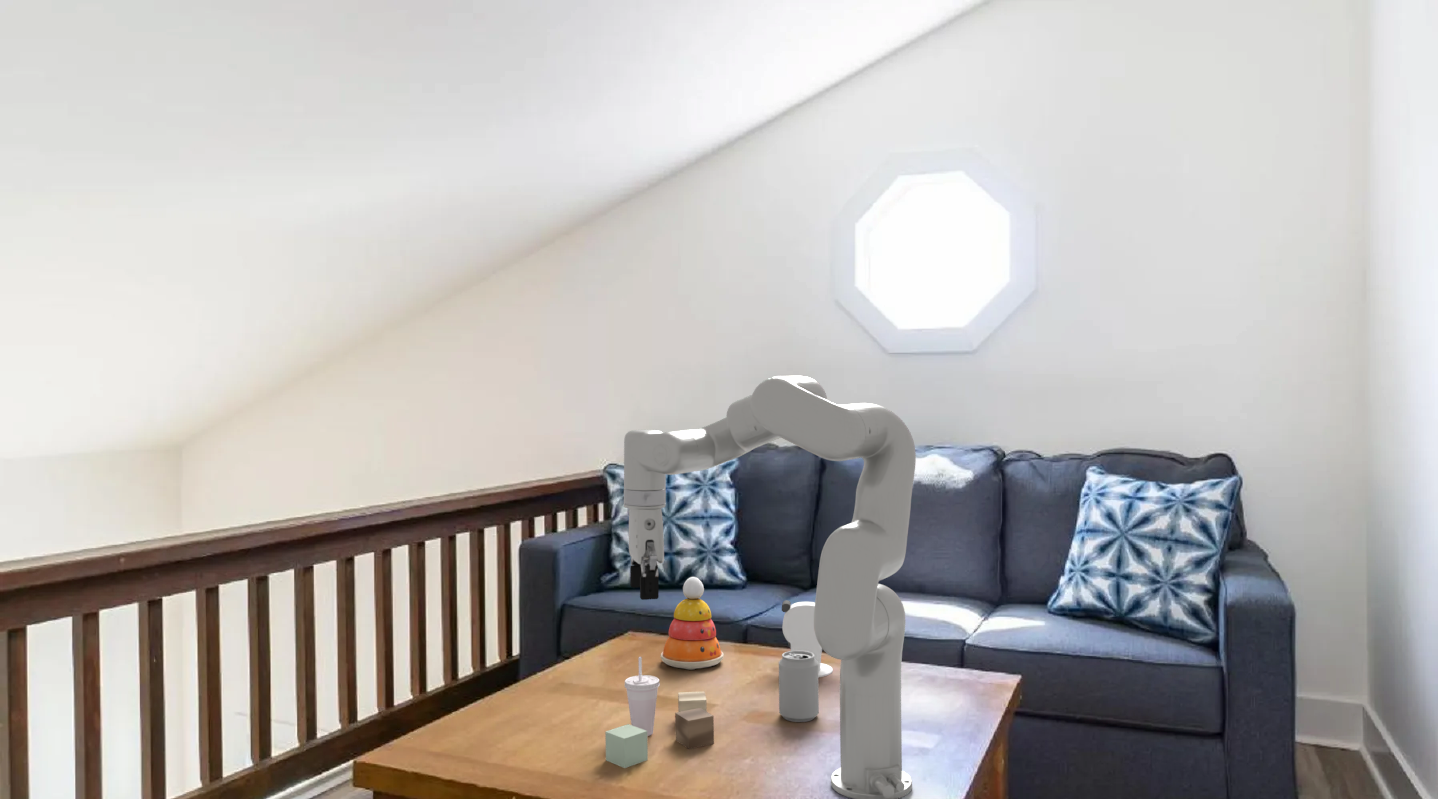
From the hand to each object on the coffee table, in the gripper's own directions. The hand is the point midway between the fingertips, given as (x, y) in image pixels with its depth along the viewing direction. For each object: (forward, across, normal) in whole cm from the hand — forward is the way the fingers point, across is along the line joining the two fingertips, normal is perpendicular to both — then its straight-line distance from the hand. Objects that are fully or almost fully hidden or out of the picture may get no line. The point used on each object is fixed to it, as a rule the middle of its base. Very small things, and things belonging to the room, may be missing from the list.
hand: (644, 592), depth 183 cm
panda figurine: (+26, +28, -42) cm, 57 cm away
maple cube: (+26, +3, -10) cm, 28 cm away
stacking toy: (+26, +41, -19) cm, 53 cm away
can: (+25, 0, -30) cm, 39 cm away
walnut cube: (+26, -7, -8) cm, 28 cm away
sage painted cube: (+26, -12, +5) cm, 29 cm away
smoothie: (+26, 0, 0) cm, 26 cm away
